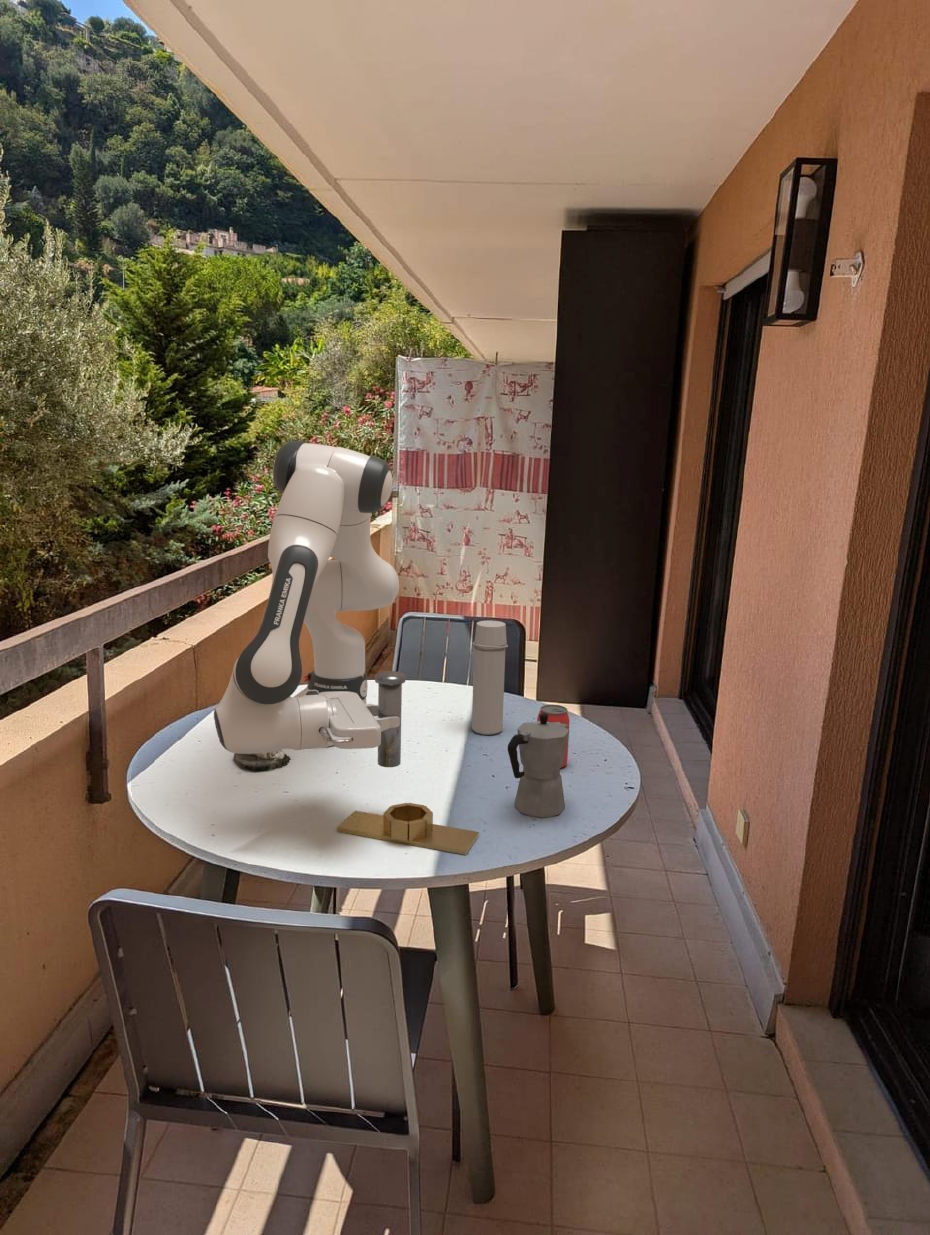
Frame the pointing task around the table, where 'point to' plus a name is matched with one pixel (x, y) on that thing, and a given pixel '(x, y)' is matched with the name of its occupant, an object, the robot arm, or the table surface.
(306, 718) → the robot arm
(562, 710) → the beer can
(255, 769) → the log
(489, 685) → the water bottle
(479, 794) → the table surface
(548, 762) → the coffeepot
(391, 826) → the octagonal peg holder board
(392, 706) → the pin
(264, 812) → the table surface
